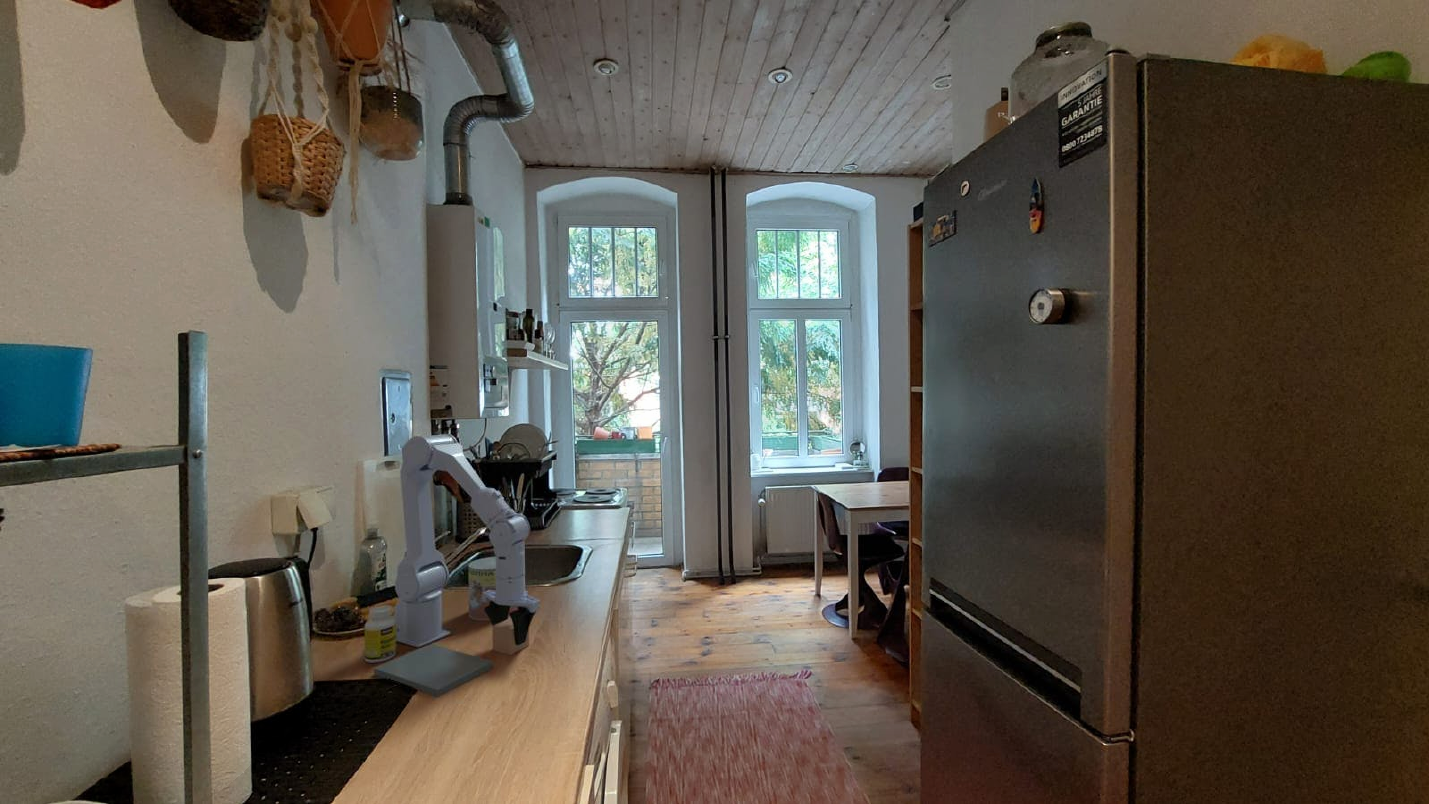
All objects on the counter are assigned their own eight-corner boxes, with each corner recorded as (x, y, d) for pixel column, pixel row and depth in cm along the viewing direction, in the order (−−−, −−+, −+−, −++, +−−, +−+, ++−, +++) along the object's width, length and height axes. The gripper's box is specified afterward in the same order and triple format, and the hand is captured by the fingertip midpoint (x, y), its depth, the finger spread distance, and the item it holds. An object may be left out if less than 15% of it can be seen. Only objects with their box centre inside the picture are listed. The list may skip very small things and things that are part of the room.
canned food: (458, 614, 137) (458, 564, 137) (498, 600, 147) (497, 554, 147) (488, 623, 131) (488, 571, 131) (527, 608, 141) (527, 560, 141)
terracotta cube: (492, 650, 117) (492, 625, 117) (511, 640, 121) (511, 617, 121) (510, 654, 115) (510, 630, 115) (528, 645, 119) (528, 621, 119)
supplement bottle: (381, 664, 111) (381, 614, 111) (358, 662, 112) (357, 612, 112) (402, 652, 116) (402, 604, 116) (379, 650, 117) (379, 603, 117)
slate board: (374, 674, 107) (374, 668, 107) (431, 649, 117) (431, 643, 117) (437, 696, 98) (437, 689, 98) (493, 667, 109) (493, 661, 109)
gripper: (550, 574, 118) (551, 639, 118) (500, 565, 125) (501, 627, 125) (524, 584, 112) (525, 653, 112) (473, 574, 119) (474, 639, 119)
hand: (510, 640), depth 118 cm, fingers closed on terracotta cube, 5 cm apart
